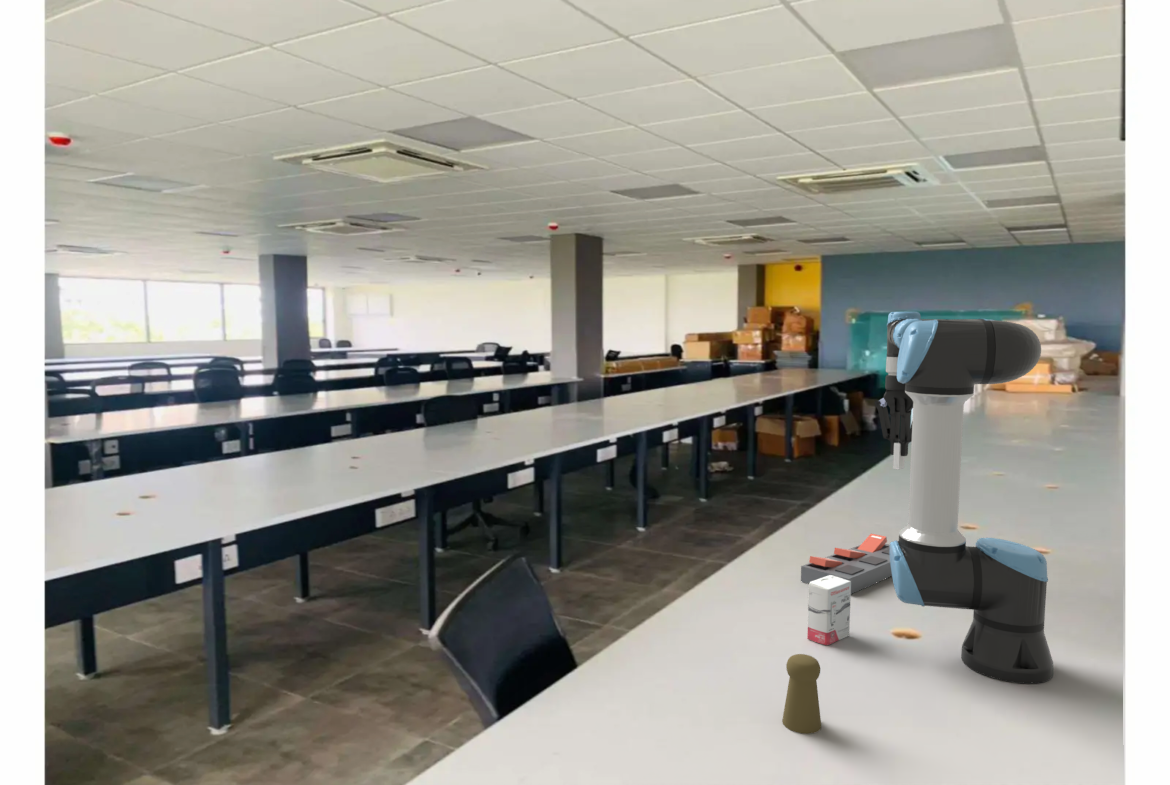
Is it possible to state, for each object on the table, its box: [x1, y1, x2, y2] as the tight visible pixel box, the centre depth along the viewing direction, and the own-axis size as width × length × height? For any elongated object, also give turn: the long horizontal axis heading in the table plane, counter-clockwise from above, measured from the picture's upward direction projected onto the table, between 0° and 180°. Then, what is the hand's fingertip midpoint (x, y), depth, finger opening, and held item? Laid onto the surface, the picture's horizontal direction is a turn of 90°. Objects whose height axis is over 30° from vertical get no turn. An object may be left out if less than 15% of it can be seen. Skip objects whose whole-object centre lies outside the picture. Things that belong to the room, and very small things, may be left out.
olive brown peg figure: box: [781, 653, 822, 735], centre depth 122 cm, size 6×6×11 cm
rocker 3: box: [858, 533, 888, 553], centre depth 207 cm, size 4×8×2 cm, turn 131°
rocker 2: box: [833, 547, 866, 558], centre depth 200 cm, size 4×8×2 cm, turn 131°
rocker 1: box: [808, 555, 842, 567], centre depth 192 cm, size 4×8×2 cm, turn 131°
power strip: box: [800, 543, 892, 595], centre depth 200 cm, size 13×44×4 cm, turn 131°
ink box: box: [807, 575, 852, 646], centre depth 156 cm, size 9×5×12 cm, turn 129°
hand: (898, 468), depth 191 cm, fingers closed
